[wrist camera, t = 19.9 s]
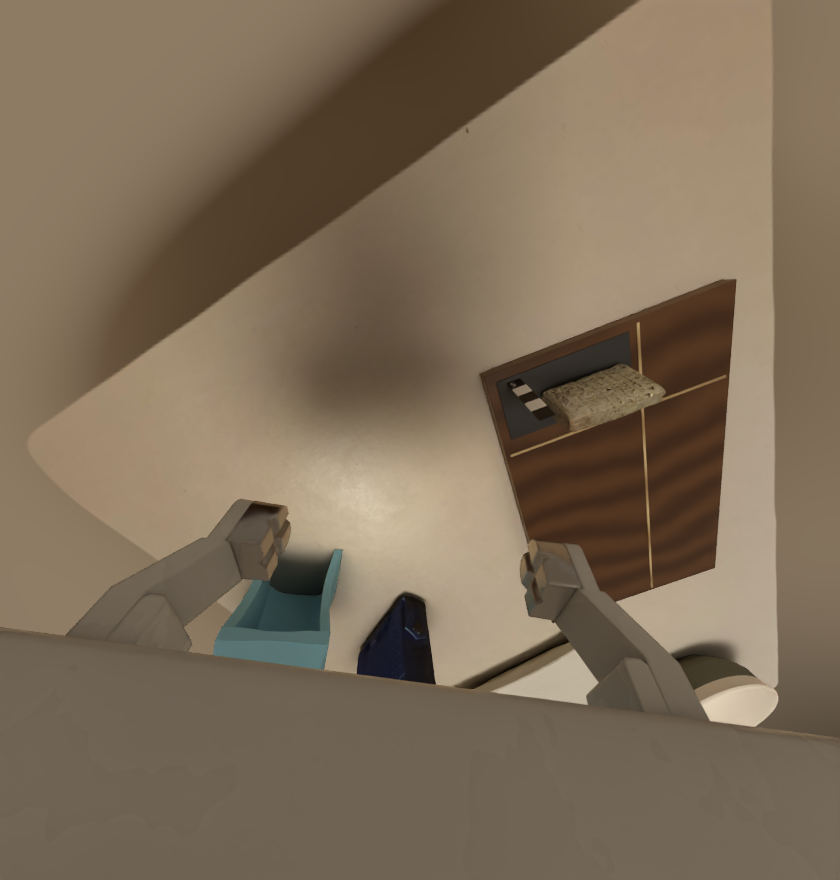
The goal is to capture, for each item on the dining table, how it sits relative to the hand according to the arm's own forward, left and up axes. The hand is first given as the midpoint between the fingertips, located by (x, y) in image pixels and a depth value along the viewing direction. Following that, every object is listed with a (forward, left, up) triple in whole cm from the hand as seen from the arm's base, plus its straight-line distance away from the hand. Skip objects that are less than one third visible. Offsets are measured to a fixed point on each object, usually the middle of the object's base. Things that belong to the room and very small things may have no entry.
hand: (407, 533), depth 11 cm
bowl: (+76, +32, -24) cm, 86 cm away
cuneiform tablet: (+8, +17, -23) cm, 29 cm away
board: (+25, +22, -24) cm, 41 cm away
